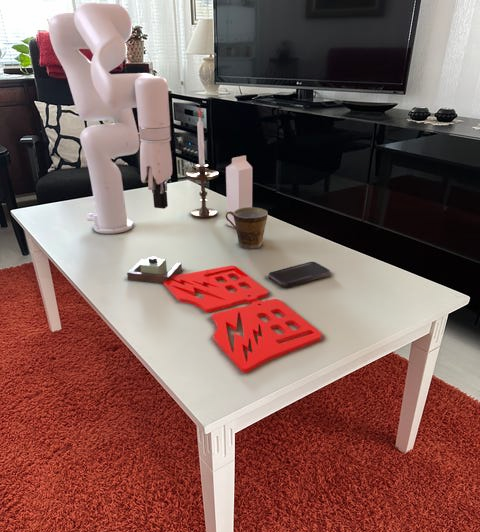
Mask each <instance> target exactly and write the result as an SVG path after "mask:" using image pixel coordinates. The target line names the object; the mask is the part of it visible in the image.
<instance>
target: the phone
mask: <svg viewBox="0 0 480 532" xmlns="http://www.w3.org/2000/svg"><path fill="white" fill-rule="evenodd" d="M330 275H331V270H330V269H329V268H327V267H325V266H323V265H321V264H320V263H317V262H316V261H307V262H304V263H300V264H296V265H292V266H289V267H284V268H281V269H278V270H274V271H270V272H269V273H268V279H269V280H271V282H273V283H275V284H276V285H278V286H280V287H281V288H284V289H286V288H287V289H288V288H291V287H295V286H298V285H302V284H305V283H308V282H312V281H316V280H319V279H323V278H326V277H329V276H330Z"/></svg>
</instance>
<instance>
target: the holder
mask: <svg viewBox="0 0 480 532" xmlns="http://www.w3.org/2000/svg"><path fill="white" fill-rule="evenodd" d="M146 259H147V258H141V259H140V260H139V261H138V262H137V263H136V264H135V265H133V267H132V268H130V269H129V271H127V273H126V274H127V276H126V277H127V280H128V281H136V282H146V283H153V284H161V285H162V284H163V285H164V282H163V281H170V279H171V278H172V277H173V276H174V275H180V272H181V271H182V270H183V265H182V262H176V263H175V264H174V266H173V267H171V268H170V270H169V271H167V274H166V275H162V274H153V273H143V272H141V267H140V265H141V264H142V263H143V262H144V261H145V260H146Z"/></svg>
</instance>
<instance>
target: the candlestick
mask: <svg viewBox="0 0 480 532" xmlns="http://www.w3.org/2000/svg"><path fill="white" fill-rule="evenodd" d="M201 116H202V110H201V107H199V108H198V121H197V123H196V126H197V148H198V163H197V164H196V165H195V166H196V167H198V169H192V170H189V171H187V172H186V173H185V174H186V178H187V179H189V180H193V181H198V182H199V181H200V191H199V193H198V194H199V196H200V199H199V202H201V208H200V207H199V208H196V209H193V210H192V211H191V217H193V218H195V219H201V220H202V219H205V220H206V219H213V218H215V217H217V215H218V210H216V209H215V208H210V207H207V202H208V199H207V196H208V192H207V191H206V183H205V182H206V181H210V180H214V179H217V178H219V171H217V170H215V169H210V168H209V169H206V167H208V166H209V164H207V163H206V161H205V158H206V157H205V135H204V134H205V133H204V122H203V121H202V117H201Z"/></svg>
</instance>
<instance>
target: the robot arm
mask: <svg viewBox="0 0 480 532" xmlns="http://www.w3.org/2000/svg"><path fill="white" fill-rule="evenodd" d="M132 33H133V23H132V19H131V17H130V14H129V12H128V11H127V10H126V8H124V6H122V5H120V4H117V3H100V2H99V3H98V2H97V3H96V2H88V3H83V4H81V5H79V6H78V7H77V8H76V10H75V11H74V12H63V13H58V14H55V15H53V16H52V17H51V18H50V20H49V23H48V35H49V40H50V43H51V46H52V49H53V52H54V54H55V56H56V57H57V59H58V62H59V63H60V65H61V66H62V69H63V71H64V73H65V75H66V78H67V82H68V85H69V89H70V93H71V95H72V96H71V97H72V100H73V103H74V106H75V110H76V112H77V113H78V116H79V118H80V119H81V120H83V121H86V122H100V121H101V122H102V121H108V120H109V121H110V120H111V121H112V120H113V121H114V123H102V124H101V123H100V124H95V125H89V126H87V127H85V128H83V130H81V132H80V135H79V138H80V139H79V141H80V145H81V148H82V152H83V154H84V157H85V160H86V164H87V168H88V174H89V179H90V185H91V191H92V197H93V203H94V210H95V213H93V212H88V213H87V215H86V220H87V221H88V222H94V224H93V226H92V227H93V230H94V231H95V232H96V233H99V234H106V235H111V234H113V235H114V234H119V233H120V234H121V233H124V232H127V231H130V230H131V229H132V228H133V226H134V224H133V221H131V220H130V219H129V218H128V214H127V208H126V200H125V199H126V198H125V193H124V192H125V191H124V186H123V185H124V184H123V177H122V172H121V170H120V168H119V166H118V165H116V164H115V163H114V161H112V159H113V158H117V157H124V156H131V155H135V154H136V153H137V152H138V151H139V165H140V166H139V167H140V169H139V170H140V180H141V183H143V184H147V183H148V184H147V185H148V186H147V189H148V190H149V191H151V193H152V197H153V198H152V200H153V207H154V208H155V209H162V210H164V209H166V208H168V205H169V203H168V193H167V192H168V181H169V179H170V177H171V176H172V175H173V157H172V150H171V141H172V134H171V116H170V103H169V102H170V101H169V87H168V82H167V80H166V78H164V77H162V76H154V75H153V74H151V73H149V72H142V73H141V72H137V73H135V72H134V73H131V72H130V73H110V72H111V71H113V70H114V69H116V68H118V67H119V66H120V65H122V63H123V62H124V61H125V59H126V57H127V53H128V47H127V43H126V42H127V41H128V40H129V39H130V38H131V36H132ZM80 50H89V51H90V52H91V54H92V58H91V61H90V59H89V58H87V56H86V55H84V54H83V53H82V52H81V51H80ZM135 108H136V112H137V122H138V128H137V123H136V120H135V116H134V112H133V109H135Z"/></svg>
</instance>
